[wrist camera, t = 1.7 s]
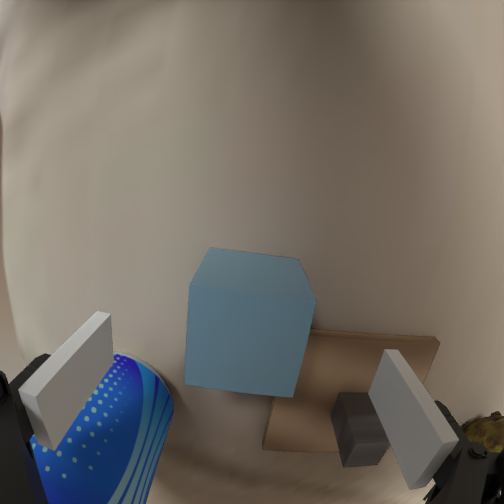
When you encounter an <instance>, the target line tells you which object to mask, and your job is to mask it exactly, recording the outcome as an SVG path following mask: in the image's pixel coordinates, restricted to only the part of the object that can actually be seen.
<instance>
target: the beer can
mask: <svg viewBox="0 0 504 504" xmlns="http://www.w3.org/2000/svg"><path fill="white" fill-rule="evenodd" d="M113 356H114V363H113V364H112V366H111V367H110V368H109V370H108V371H107V373H106V374H105V376H104V377H103V379H102V380H101V382H100V383H99V384H98V386H97V387H96V389H95V390H94V392H93V393H92V395H91V396H90V398H89V399H88V401H87V402H86V404H85V405H84V407H83V408H82V410H81V411H80V413H79V414H78V416H77V417H76V419H75V420H74V422H73V423H72V425H71V426H70V428H69V429H68V431H67V432H66V434H65V436H64V437H63V439H62V440H61V442H60V443H59V445H58V446H57V448H56V450H55V451H53V450H51V449H49V448H46V447H44V446H42V445H40V444H38V442H37V440H36V437H35V435H33V436H32V438H31V439H30V442H31V445H32V448H33V452H34V456H35V460H36V464H37V467H38V471H39V474H40V478H41V481H42V484H43V488H44V491H45V494H46V497H47V500H48V502H49V504H146V501H147V497H148V494H149V490H150V487H151V484H152V480H153V477H154V474H155V470H156V467H157V464H158V461H159V457H160V454H161V451H162V448H163V444H164V441H165V438H166V435H167V431H168V428H169V425H170V422H171V419H172V415H173V410H174V405H173V399H172V396H171V394H170V392H169V390H168V388H167V386H166V385H165V383H164V381H163V379H162V378H161V376H160V375H159V374H158V373H157V371H156V370H155V369H154V368H152V367H151V366H150V365H149V364H147V363H146V362H144V361H143V360H141V359H139V358H137V357H135V356H132V355H130V354H126V353H120V352H113Z"/></svg>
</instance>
